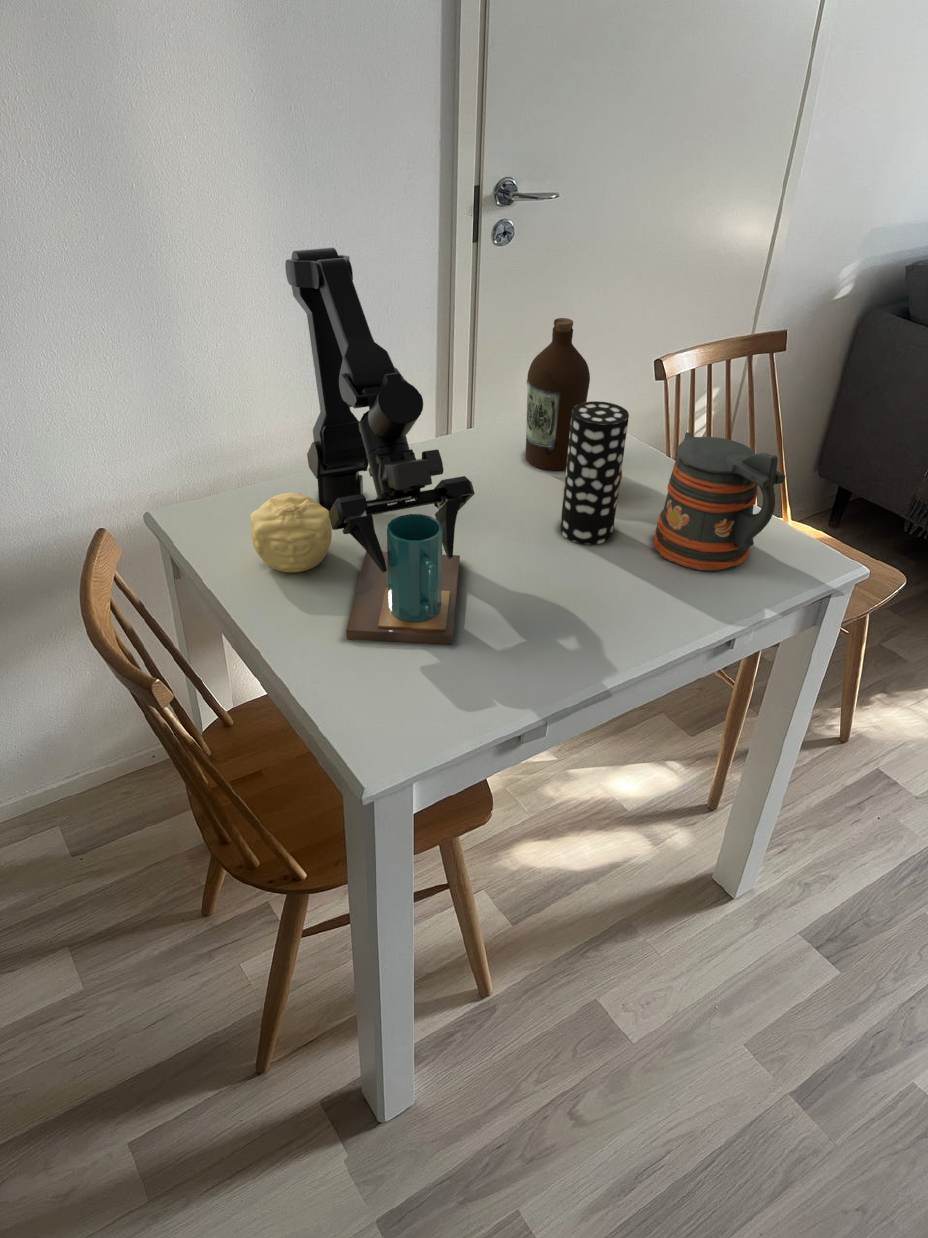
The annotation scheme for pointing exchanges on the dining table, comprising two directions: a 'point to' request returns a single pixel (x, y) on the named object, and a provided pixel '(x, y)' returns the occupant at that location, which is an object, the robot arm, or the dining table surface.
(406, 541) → the teal coffee mug
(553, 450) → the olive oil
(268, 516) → the sculpture
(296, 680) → the dining table surface
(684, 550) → the beer stein
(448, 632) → the board
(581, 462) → the spotted tube
